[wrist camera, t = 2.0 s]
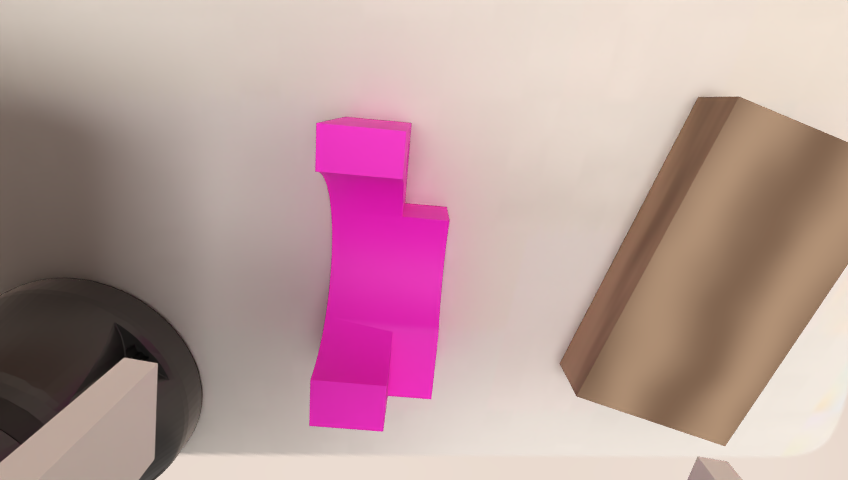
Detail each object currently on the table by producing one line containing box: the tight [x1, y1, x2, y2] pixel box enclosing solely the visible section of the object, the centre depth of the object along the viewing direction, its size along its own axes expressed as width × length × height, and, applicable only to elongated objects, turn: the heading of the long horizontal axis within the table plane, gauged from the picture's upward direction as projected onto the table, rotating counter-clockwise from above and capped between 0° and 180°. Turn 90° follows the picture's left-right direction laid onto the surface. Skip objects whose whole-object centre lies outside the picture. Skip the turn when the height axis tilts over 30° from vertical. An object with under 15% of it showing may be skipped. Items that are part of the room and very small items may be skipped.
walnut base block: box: [560, 97, 848, 446], centre depth 27 cm, size 10×18×4 cm, turn 160°
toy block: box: [309, 117, 449, 431], centre depth 25 cm, size 15×6×8 cm, turn 175°
